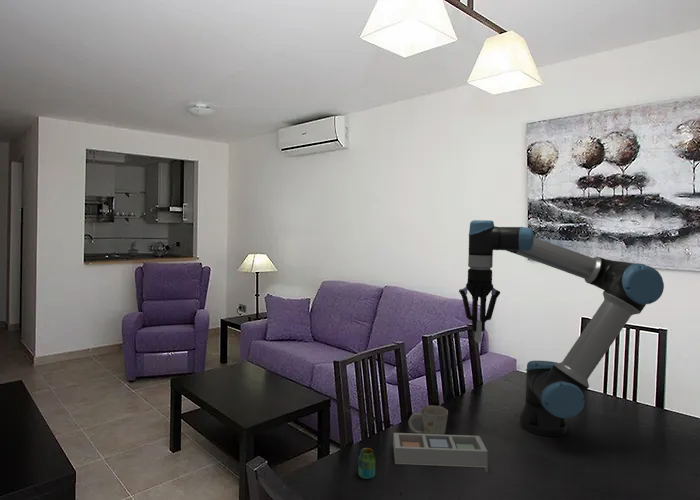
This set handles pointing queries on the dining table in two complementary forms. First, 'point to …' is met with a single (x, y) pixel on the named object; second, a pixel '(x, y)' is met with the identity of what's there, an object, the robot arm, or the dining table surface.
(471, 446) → the key
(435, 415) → the mug
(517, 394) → the dining table surface
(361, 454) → the jar
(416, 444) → the key
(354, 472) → the dining table surface
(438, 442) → the key
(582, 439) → the dining table surface
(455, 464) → the three-slot tray
